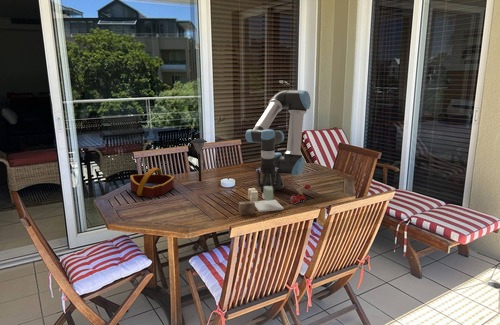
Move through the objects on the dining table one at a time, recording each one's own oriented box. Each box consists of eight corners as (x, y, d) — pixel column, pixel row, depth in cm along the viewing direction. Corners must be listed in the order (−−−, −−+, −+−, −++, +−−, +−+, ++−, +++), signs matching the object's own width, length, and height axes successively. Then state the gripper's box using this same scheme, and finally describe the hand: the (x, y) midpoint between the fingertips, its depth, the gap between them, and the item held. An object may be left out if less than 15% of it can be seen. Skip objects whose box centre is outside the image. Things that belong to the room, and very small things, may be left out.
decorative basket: (159, 202, 225) (162, 179, 222) (116, 193, 230) (118, 170, 227) (180, 187, 258) (182, 167, 254) (142, 179, 263) (144, 159, 259)
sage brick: (262, 196, 213) (262, 186, 211) (268, 195, 214) (268, 185, 212) (266, 200, 205) (266, 190, 204) (273, 200, 206) (273, 189, 205)
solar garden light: (210, 181, 261) (209, 140, 254) (193, 183, 257) (191, 141, 250) (206, 177, 272) (204, 137, 266) (189, 179, 268) (188, 138, 261)
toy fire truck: (289, 203, 216) (289, 187, 214) (306, 198, 224) (306, 183, 221) (293, 204, 213) (293, 188, 211) (310, 200, 221) (310, 184, 219)
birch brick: (248, 197, 226) (248, 188, 224) (254, 197, 227) (254, 188, 225) (251, 202, 218) (251, 192, 217) (257, 201, 219) (257, 191, 218)
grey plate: (252, 203, 216) (252, 201, 216) (275, 201, 219) (275, 199, 219) (259, 211, 202) (259, 210, 201) (283, 209, 205) (283, 207, 205)
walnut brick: (240, 215, 198) (240, 204, 196) (238, 212, 201) (238, 202, 200) (254, 213, 200) (254, 203, 198) (252, 211, 203) (252, 200, 202)
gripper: (254, 159, 198) (254, 201, 204) (284, 158, 203) (284, 198, 208) (251, 157, 206) (251, 197, 211) (280, 155, 210) (279, 194, 215)
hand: (267, 197), depth 209 cm, fingers closed on sage brick, 4 cm apart
